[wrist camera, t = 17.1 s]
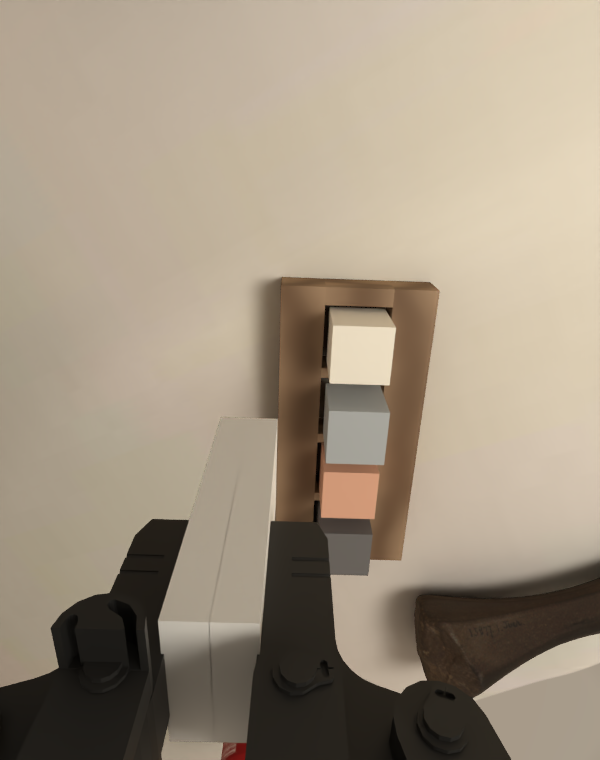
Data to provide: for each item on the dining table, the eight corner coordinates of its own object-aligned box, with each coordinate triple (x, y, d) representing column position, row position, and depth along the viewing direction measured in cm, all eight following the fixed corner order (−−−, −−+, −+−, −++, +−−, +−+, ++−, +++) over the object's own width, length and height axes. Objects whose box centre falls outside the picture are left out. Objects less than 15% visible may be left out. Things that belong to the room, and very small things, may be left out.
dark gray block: (315, 535, 49) (317, 574, 44) (317, 497, 47) (320, 533, 43) (361, 536, 49) (368, 575, 45) (365, 498, 47) (372, 534, 43)
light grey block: (323, 431, 43) (325, 463, 39) (325, 383, 42) (329, 410, 37) (375, 432, 43) (384, 465, 39) (380, 385, 42) (390, 412, 37)
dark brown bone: (402, 616, 59) (634, 535, 59) (442, 722, 52) (704, 631, 52) (395, 589, 51) (665, 494, 50) (440, 711, 44) (753, 602, 43)
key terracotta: (318, 482, 47) (320, 517, 42) (321, 440, 45) (323, 472, 40) (367, 484, 47) (374, 519, 42) (371, 442, 45) (379, 473, 41)
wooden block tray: (276, 535, 52) (275, 556, 49) (282, 277, 41) (281, 285, 39) (395, 539, 52) (401, 560, 49) (430, 282, 42) (439, 291, 39)
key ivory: (326, 359, 42) (329, 383, 37) (329, 306, 40) (333, 325, 36) (379, 361, 42) (389, 385, 38) (385, 308, 40) (395, 327, 36)
